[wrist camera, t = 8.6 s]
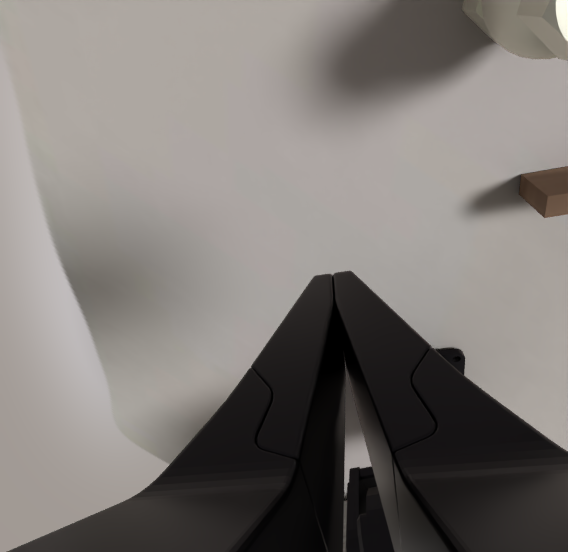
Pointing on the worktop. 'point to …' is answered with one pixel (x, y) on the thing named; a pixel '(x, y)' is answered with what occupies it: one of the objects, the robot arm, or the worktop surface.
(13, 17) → the worktop surface
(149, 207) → the worktop surface
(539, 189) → the carrier bracket
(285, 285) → the worktop surface
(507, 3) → the valve
